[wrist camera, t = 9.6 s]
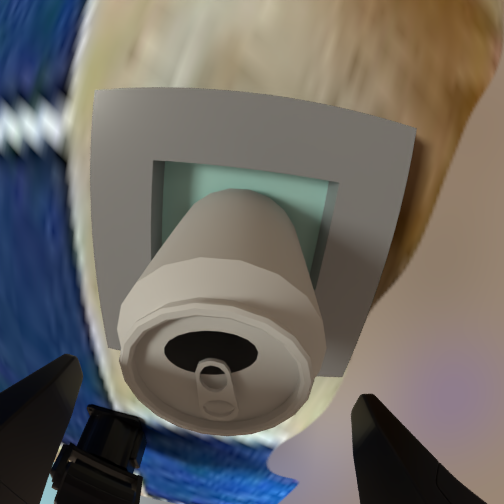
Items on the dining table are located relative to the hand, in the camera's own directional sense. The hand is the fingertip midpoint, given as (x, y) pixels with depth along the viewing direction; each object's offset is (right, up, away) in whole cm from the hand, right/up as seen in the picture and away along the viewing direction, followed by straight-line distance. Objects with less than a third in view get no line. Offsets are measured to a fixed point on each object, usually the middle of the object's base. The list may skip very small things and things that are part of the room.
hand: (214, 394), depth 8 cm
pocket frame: (0, +5, +11) cm, 13 cm away
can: (0, +5, +12) cm, 13 cm away
